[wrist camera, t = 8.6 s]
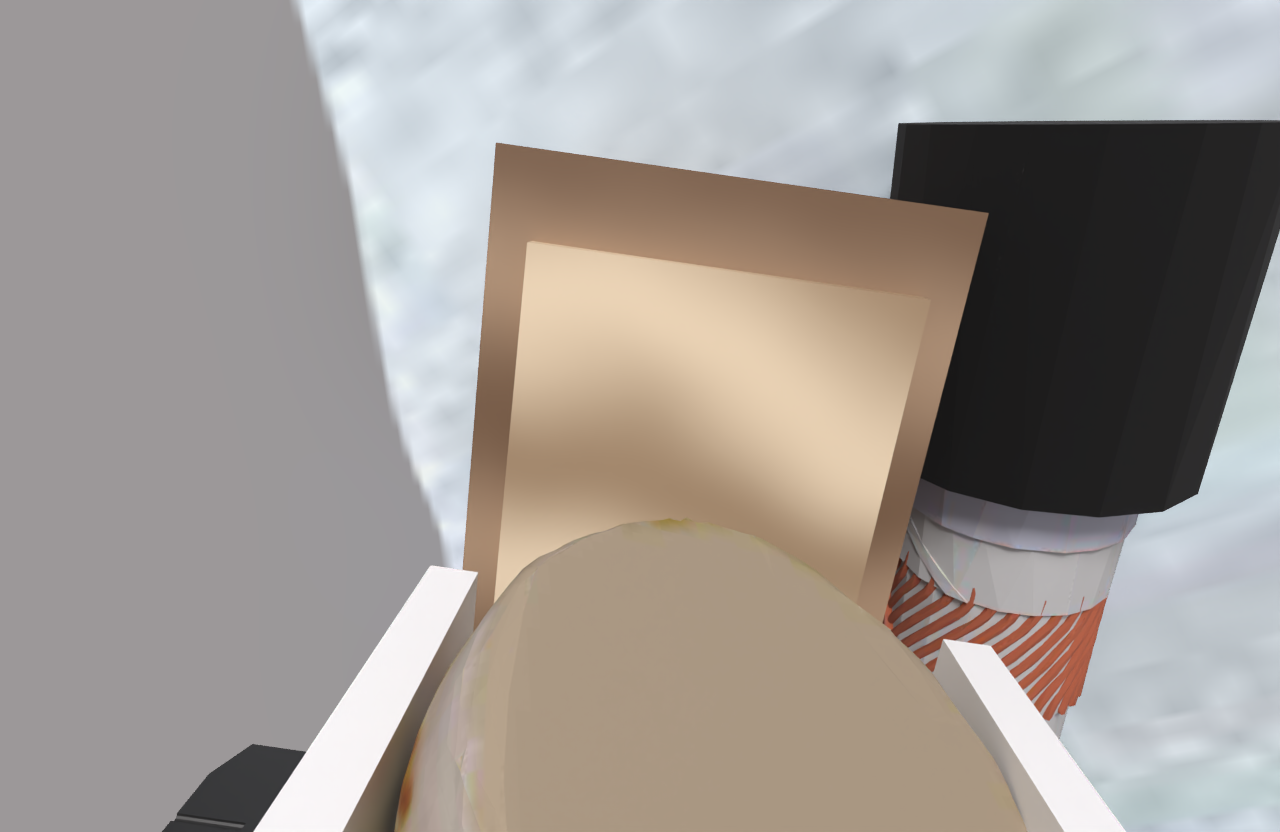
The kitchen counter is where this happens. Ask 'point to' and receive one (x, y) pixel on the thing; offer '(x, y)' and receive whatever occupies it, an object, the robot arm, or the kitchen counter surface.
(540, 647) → the mug
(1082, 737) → the kitchen counter surface
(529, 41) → the kitchen counter surface
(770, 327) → the plate
